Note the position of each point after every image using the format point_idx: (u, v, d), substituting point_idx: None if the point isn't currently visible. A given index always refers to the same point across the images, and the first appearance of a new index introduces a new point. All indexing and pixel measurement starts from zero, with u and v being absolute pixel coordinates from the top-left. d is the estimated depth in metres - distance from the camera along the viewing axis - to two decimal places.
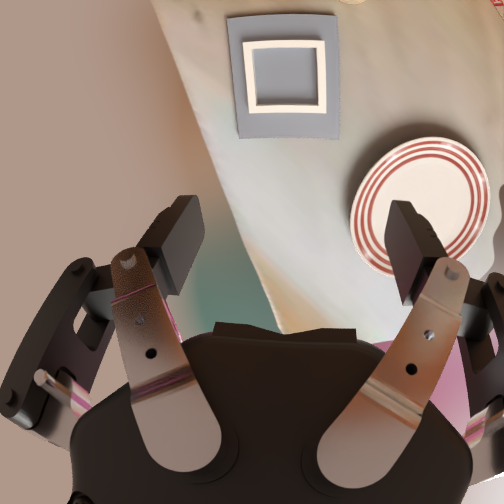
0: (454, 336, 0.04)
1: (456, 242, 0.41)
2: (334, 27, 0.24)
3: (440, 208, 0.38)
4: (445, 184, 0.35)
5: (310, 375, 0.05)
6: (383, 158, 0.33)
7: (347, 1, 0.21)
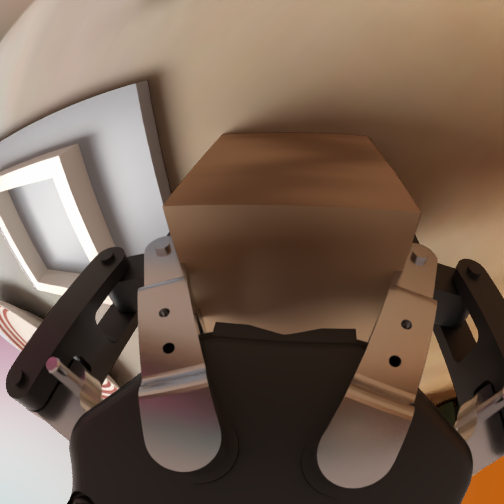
0: (432, 321, 0.05)
1: None
2: None
3: None
4: None
5: (310, 375, 0.05)
6: None
7: None
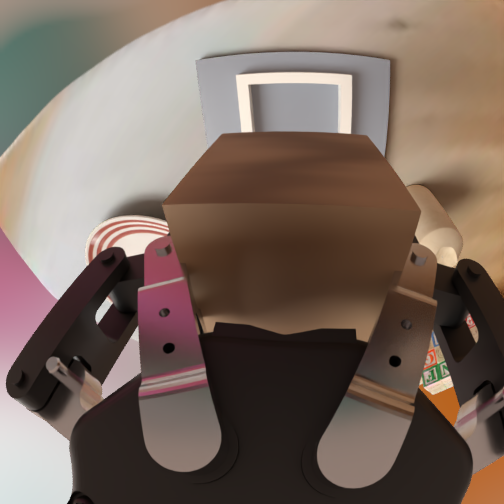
0: (432, 321, 0.05)
1: None
2: None
3: None
4: None
5: (310, 375, 0.05)
6: None
7: None
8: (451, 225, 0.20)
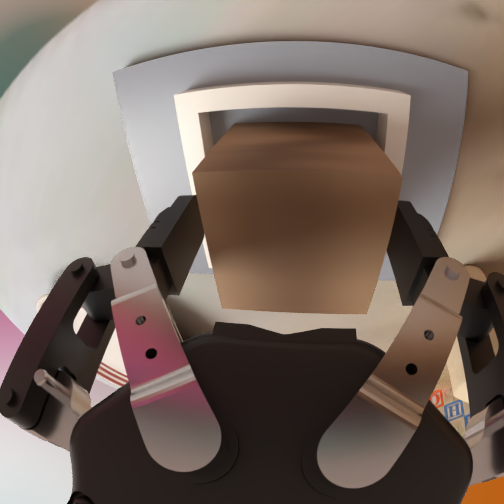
0: (454, 336, 0.04)
1: (125, 377, 0.38)
2: None
3: None
4: None
5: (310, 375, 0.05)
6: None
7: None
8: None
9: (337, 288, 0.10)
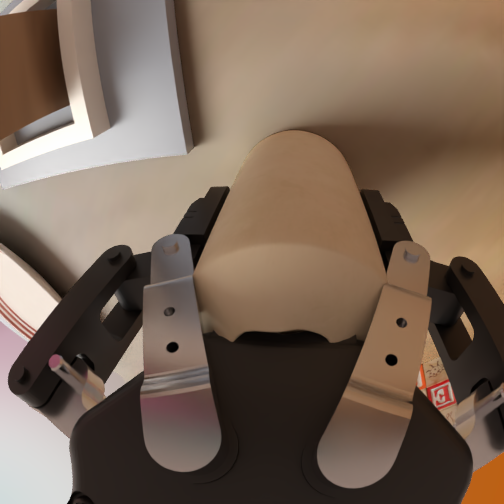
0: (427, 319, 0.05)
1: None
2: (152, 149, 0.12)
3: (42, 316, 0.29)
4: None
5: (310, 375, 0.05)
6: (11, 259, 0.18)
7: None
8: (322, 231, 0.06)
9: None
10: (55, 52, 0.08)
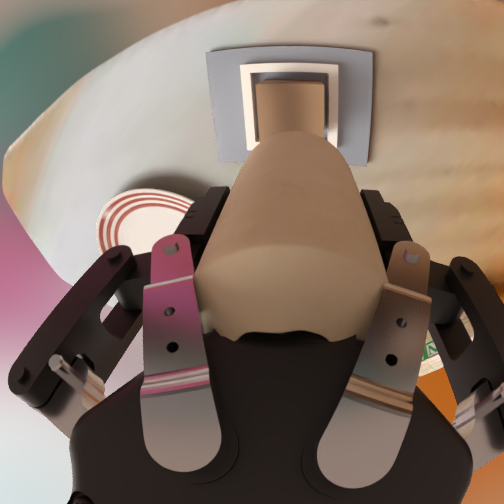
0: (427, 318, 0.05)
1: None
2: (352, 161, 0.30)
3: None
4: None
5: (310, 375, 0.05)
6: None
7: None
8: (323, 232, 0.06)
9: (308, 131, 0.23)
10: None
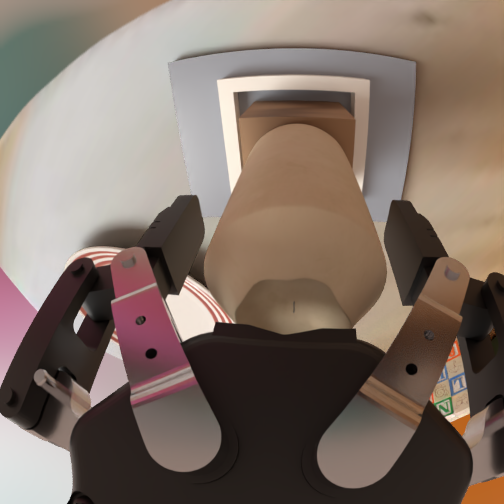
0: (454, 336, 0.04)
1: None
2: (378, 217, 0.22)
3: None
4: (189, 328, 0.38)
5: (310, 375, 0.05)
6: (187, 278, 0.28)
7: None
8: (323, 198, 0.07)
9: None
10: None
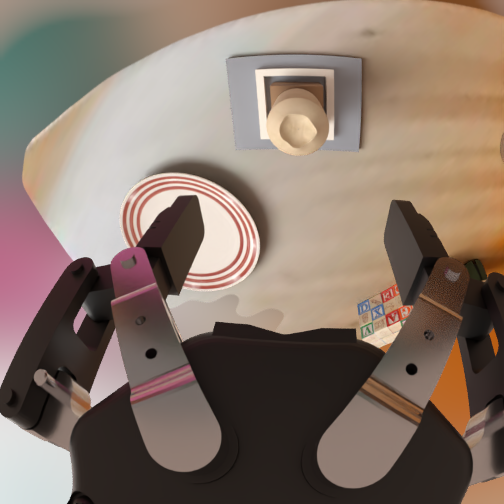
0: (454, 337, 0.04)
1: None
2: (347, 148, 0.36)
3: None
4: (218, 247, 0.52)
5: (310, 375, 0.05)
6: (226, 192, 0.42)
7: None
8: (304, 97, 0.21)
9: None
10: None
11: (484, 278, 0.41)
